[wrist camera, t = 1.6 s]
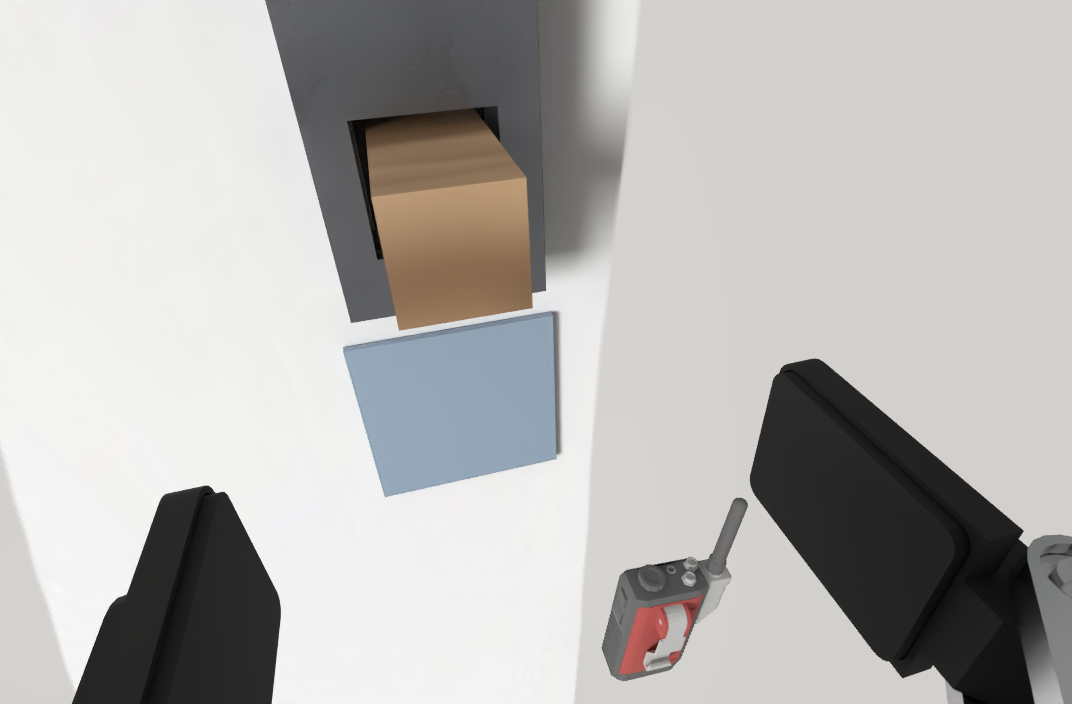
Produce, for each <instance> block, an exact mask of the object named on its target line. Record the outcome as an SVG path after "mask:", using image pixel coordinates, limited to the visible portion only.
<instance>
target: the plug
mask: <svg viewBox="0 0 1072 704" xmlns="http://www.w3.org/2000/svg"><path fill="white" fill-rule="evenodd" d="M365 131H366V143H367V155H368V167H369V178H370V190H371V199H372V204H373V209H374V213H375V218H376V223H377V228H378V232H379V237H380V242H381V247H382V251H383V256H384V261H385V266H386V270H387V275H388V280H389V285H390V289H391V294H392V299H393V304H394V308H395V313H396V318H397V322H398V327H399V331H400V330H406V329H411V328H417V327H423V326H429V325H435V324H441V323H447V322H453V321H459V320H465V319H470V318H476V317H482V316H488V315H494V314H500V313H506V312H512V311H518V310H523V309H529V308H533V306H532V285H531V264H530V243H529V222H528V201H527V180H526V176H525V175H524V174H523V172H522V171H521V170H520V168H519V167H518V166H517V165H516V163H515V162H514V161H513V159H512V158H511V157H510V155H509V154H508V153H507V151H506V150H505V149H504V147H503V146H502V145H501V143H500V142H499V141H498V140H497V138H496V137H495V136H494V134H493V133H492V132H491V130H490V129H489V128H488V126H487V125H486V124H485V122H484V121H483V120H482V118H481V117H480V116H479V114H478V113H477V112H476V111H475V109H474V108H469V109H459V110H450V111H440V112H430V113H420V114H410V115H400V116H390V117H380V118H371V119H365Z"/></svg>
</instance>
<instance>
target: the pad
mask: <svg viewBox="0 0 1072 704" xmlns="http://www.w3.org/2000/svg"><path fill="white" fill-rule="evenodd" d="M343 352H344V356H345V359H346V363H347V366H348V370H349V373H350V377H351V380H352V384H353V387H354V391H355V394H356V398H357V401H358V405H359V408H360V412H361V415H362V419H363V422H364V426H365V429H366V433H367V436H368V440H369V443H370V447H371V450H372V454H373V457H374V461H375V464H376V468H377V471H378V475H379V478H380V482H381V485H382V489H383V492H384V496H385V497H388V496H392V495H397V494H401V493H406V492H410V491H415V490H419V489H424V488H428V487H433V486H437V485H442V484H446V483H451V482H455V481H460V480H464V479H469V478H473V477H478V476H482V475H487V474H491V473H496V472H500V471H505V470H509V469H514V468H518V467H523V466H527V465H532V464H536V463H541V462H545V461H550V460H554V459H556V420H555V378H554V335H553V315H552V313H551V312H546V313H540V314H534V315H529V316H523V317H517V318H511V319H505V320H500V321H494V322H488V323H482V324H476V325H471V326H465V327H459V328H453V329H447V330H441V331H436V332H430V333H424V334H418V335H412V336H407V337H401V338H395V339H389V340H383V341H378V342H372V343H366V344H360V345H354V346H349V347H343Z"/></svg>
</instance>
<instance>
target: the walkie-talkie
mask: <svg viewBox="0 0 1072 704" xmlns="http://www.w3.org/2000/svg"><path fill="white" fill-rule="evenodd" d="M747 507H748V504H747V502H746V500H745V499H742V498H736V499H734V501H733V503H732V505H731V508H730V510H729V513H728V515H727V518H726V521H725V523H724V526H723V528H722V531H721V534H720V536H719V539H718V541H717V544H716V546H715V549H714V551H713V553H712V554H711V555H710V557H709V559H707V560H702V561H697V560H696V559H695V558H693V557H689V558H685V559H680V560H675V561H670V562H665V563H659V564H654V565H646V566H643V567H639V568H633V569H628V570H626V571H624V572H623V573H622V574H621V575H620V576H619V580H618V584H617V588H616V592H615V596H614V600H613V604H612V610H611V614H610V618H609V621H608V625H607V629H606V632H605V636H604V640H603V643H602V650H603V653H604V656H605V658H606V661H607V664H608V667H609V670H610V673H611V675H612V676H614V677H615V678H616V679H618V680H621V681H627V680H631V679H635V678H639V677H644V676H648V675H652V674H656V673H660V672H664V671H668V670H670V669H672V667H673V666H674V665H675V664H676V663H677V662H678V661H679V660H680V659H681V656H682V653H683V652H684V649H685V646H686V645H687V644H686V643H687V642H688V639H689V636H690V634H691V631H692V629H693V627H694V624H696V623H699V622H700V621H701V620H702V619H704V618H705V617H706V616H707V615H709V614H710V613H711V612H712V611H714V610H715V609H716V608H717V606H718V604H719V601H720V599H721V596H722V594H723V592H724V590H725V588H726V586H727V585H728V584H729V582H730V580H731V575H730V573H729V571H728V569H727V568H726V558H727V555H728V553H729V551H730V548H731V546H732V543H733V541H734V539H735V536H736V534H737V531H738V529H739V526H740V524H741V522H742V519H743V517H744V514H745V512H746V510H747Z"/></svg>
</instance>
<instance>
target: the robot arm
mask: <svg viewBox="0 0 1072 704" xmlns="http://www.w3.org/2000/svg"><path fill="white" fill-rule="evenodd" d="M750 484H751V488H752V490H753V492H754V494H755V496H756V497H757V499H758V500H759V501H760V503H761V504H762V505H763V507H764V508H765V509H766V511H767V512H768V513H769V515H770V516H771V517H772V518H773V520H774V521H775V522H776V524H777V525H778V526H779V528H780V529H781V530H782V532H783V533H784V534H785V536H786V537H787V538H788V540H789V541H790V542H791V543H792V545H793V546H794V547H795V549H796V550H797V551H798V553H799V554H800V555H801V557H802V558H803V559H804V561H805V562H806V563H807V564H808V566H809V567H810V569H811V570H812V571H813V572H814V574H815V575H816V576H817V578H818V579H819V580H820V582H821V583H822V584H823V585H824V587H825V588H826V589H827V591H828V592H829V594H830V595H831V596H832V597H833V599H834V600H835V601H836V603H837V604H838V605H839V607H840V608H841V609H842V611H843V612H844V613H845V615H846V616H847V617H848V619H849V620H850V621H851V622H852V624H853V625H854V626H855V627H856V629H857V630H858V632H859V633H860V634H861V635H862V637H863V638H864V640H865V641H866V642H867V644H868V645H869V646H870V647H871V649H872V650H873V651H874V652H875V653H876V655H878V656H879V657H880V658H881V659H882V660H885V661H890V663H891V664H892V665H893V667H894V668H895V669H896V671H897V672H898V673H899V674H900V676H901V677H902V678H904V677H907V676H910V675H913V674H916V673H919V672H922V671H925V670H928V669H930V668H931V667H932V666H933V665H934V667H936V669H937V670H938V671H939V673H940V674H941V675H942V676H943V677H944V678H945V680H946V690H947V699H948V704H1072V537H1070V536H1064V535H1047V536H1042V537H1040V538H1037V539H1035V540H1033V542H1032V543H1031V544H1030V546H1029V547H1027V546H1026V545H1025V544H1023V543H1022V542H1021V541H1020V540H1019V539H1018V538H1019V537H1020V536H1021V534H1022V533H1023V530H1022V529H1021V528H1020V527H1018V526H1017V525H1016V524H1015V523H1014V522H1012V520H1010V519H1009V518H1008V517H1007V516H1006V515H1004V514H1003V513H1002V512H1001V511H1000V510H998V509H997V508H996V507H995V506H994V505H993V504H991V503H990V502H989V501H988V500H987V499H985V498H984V497H983V496H982V495H981V494H980V493H978V492H977V491H976V490H975V489H973V488H972V487H971V486H970V485H969V484H968V483H966V482H965V481H964V480H963V479H962V478H961V477H959V476H958V475H957V474H956V473H955V472H953V471H952V470H951V469H950V468H948V466H946V465H945V464H944V463H943V462H942V461H940V460H939V459H938V458H937V457H936V456H934V455H933V454H932V453H931V452H930V451H929V450H927V449H926V448H925V447H924V446H923V445H921V444H920V443H919V442H918V441H917V440H916V439H914V438H913V437H912V436H911V435H909V434H908V433H907V432H906V431H905V430H904V429H903V428H901V427H900V426H899V425H898V424H897V423H895V422H894V421H893V420H892V419H891V418H889V417H888V416H887V415H886V414H885V413H883V412H882V411H881V410H880V409H879V408H878V407H876V406H875V405H874V404H873V403H872V402H870V401H869V400H868V399H867V398H866V397H865V396H863V395H862V394H861V393H860V392H859V391H857V390H856V389H855V388H854V387H853V386H852V385H850V384H849V383H848V382H847V381H846V380H844V379H843V378H842V377H841V376H840V375H839V374H837V373H836V372H835V371H834V370H833V369H831V368H830V367H829V366H828V365H827V364H825V363H824V362H823V361H821V360H819V359H809V360H804V361H800V362H795V363H790V364H786V365H784V366H783V367H782V368H781V370H780V373H779V374H777V375H776V376H775V377H774V379H773V383H772V387H771V391H770V395H769V399H768V404H767V408H766V412H765V416H764V420H763V424H762V428H761V433H760V437H759V441H758V445H757V449H756V454H755V458H754V462H753V466H752V470H751V474H750ZM280 619H281V607H280V600H279V596H278V593H277V591H276V589H275V587H274V585H273V583H272V581H271V579H270V577H269V575H268V573H267V571H266V569H265V568H264V566H263V564H262V562H261V560H260V558H259V556H258V554H257V552H256V550H255V548H254V546H253V544H252V542H251V540H250V538H249V536H248V534H247V532H246V530H245V528H244V526H243V524H242V522H241V520H240V518H239V516H238V514H237V512H236V510H235V508H234V506H233V504H232V503H231V501H230V499H229V497H228V495H227V494H226V493H225V492H220V493H215V492H214V491H213V489H212V488H211V487H209V486H202V487H197V488H192V489H187V490H182V491H178V492H173V493H168V494H165V495H164V496H163V497H162V499H161V500H160V502H159V505H158V508H157V511H156V514H155V516H154V519H153V522H152V525H151V528H150V531H149V533H148V536H147V539H146V542H145V545H144V548H143V550H142V553H141V556H140V559H139V562H138V565H137V567H136V570H135V573H134V576H133V579H132V582H131V584H130V587H129V590H128V593H127V595H124V596H122V597H119V598H117V599H116V600H115V601H114V602H113V603H112V604H111V605H110V607H109V609H108V611H107V613H106V615H105V617H104V619H103V622H102V625H101V627H100V630H99V633H98V635H97V638H96V641H95V643H94V646H93V649H92V651H91V654H90V657H89V659H88V662H87V665H86V667H85V670H84V673H83V675H82V678H81V681H80V683H79V686H78V689H77V691H76V694H75V697H74V699H73V702H72V704H272V694H273V685H274V676H275V666H276V657H277V647H278V638H279V628H280Z"/></svg>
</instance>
